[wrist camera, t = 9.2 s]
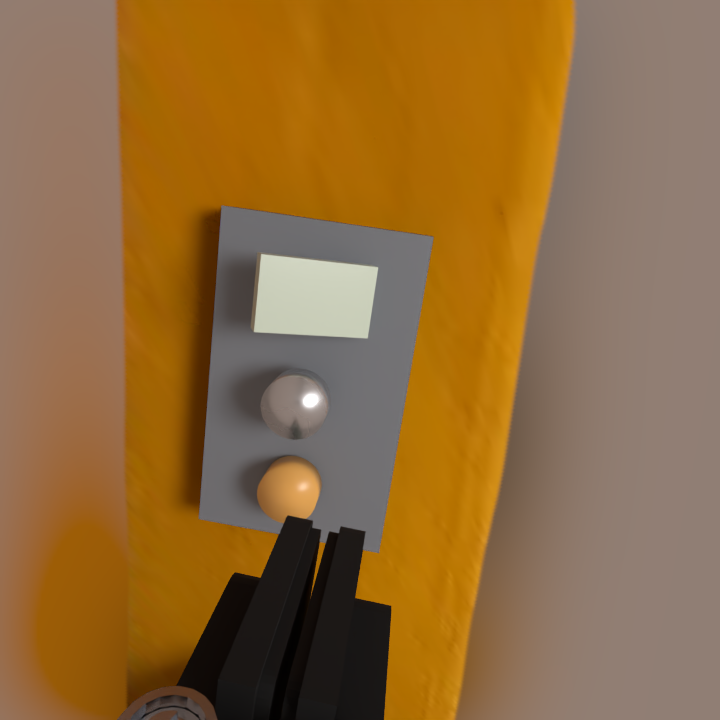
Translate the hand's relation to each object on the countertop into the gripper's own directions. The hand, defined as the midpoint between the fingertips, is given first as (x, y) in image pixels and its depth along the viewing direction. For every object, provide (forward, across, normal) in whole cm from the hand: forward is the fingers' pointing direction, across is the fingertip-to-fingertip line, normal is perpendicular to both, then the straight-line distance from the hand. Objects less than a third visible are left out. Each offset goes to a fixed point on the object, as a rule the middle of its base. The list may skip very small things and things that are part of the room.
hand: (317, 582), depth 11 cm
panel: (+23, +4, +4) cm, 24 cm away
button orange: (+20, +4, +10) cm, 23 cm away
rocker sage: (+19, +4, -2) cm, 20 cm away
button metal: (+19, +4, +4) cm, 20 cm away
